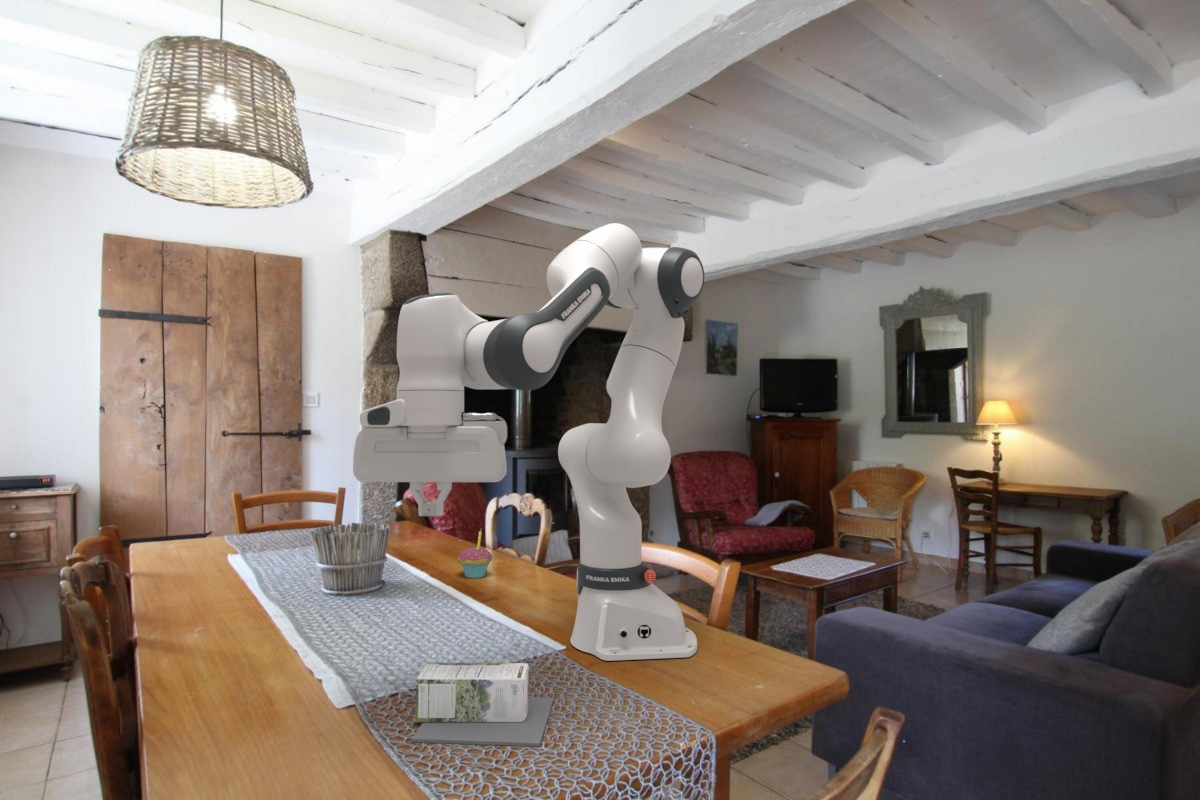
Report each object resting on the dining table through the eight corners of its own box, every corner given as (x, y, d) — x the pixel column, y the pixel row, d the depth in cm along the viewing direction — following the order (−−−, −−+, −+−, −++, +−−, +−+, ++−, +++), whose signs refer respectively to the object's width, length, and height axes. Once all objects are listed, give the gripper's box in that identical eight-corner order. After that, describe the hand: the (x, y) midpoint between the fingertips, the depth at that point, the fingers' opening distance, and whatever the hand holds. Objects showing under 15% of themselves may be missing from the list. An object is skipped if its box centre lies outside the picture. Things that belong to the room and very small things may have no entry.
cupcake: (498, 574, 166) (499, 527, 166) (475, 582, 158) (476, 532, 159) (473, 570, 170) (473, 523, 170) (449, 577, 163) (450, 528, 163)
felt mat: (553, 700, 93) (553, 697, 93) (539, 746, 80) (539, 743, 80) (442, 696, 94) (442, 694, 94) (411, 742, 81) (411, 738, 81)
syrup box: (424, 704, 91) (529, 703, 91) (414, 723, 85) (526, 722, 86) (425, 662, 91) (530, 661, 92) (414, 679, 85) (526, 678, 86)
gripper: (511, 412, 91) (512, 512, 91) (367, 412, 92) (367, 511, 92) (502, 412, 85) (502, 519, 85) (347, 413, 86) (347, 519, 86)
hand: (431, 515), depth 88 cm, fingers closed
